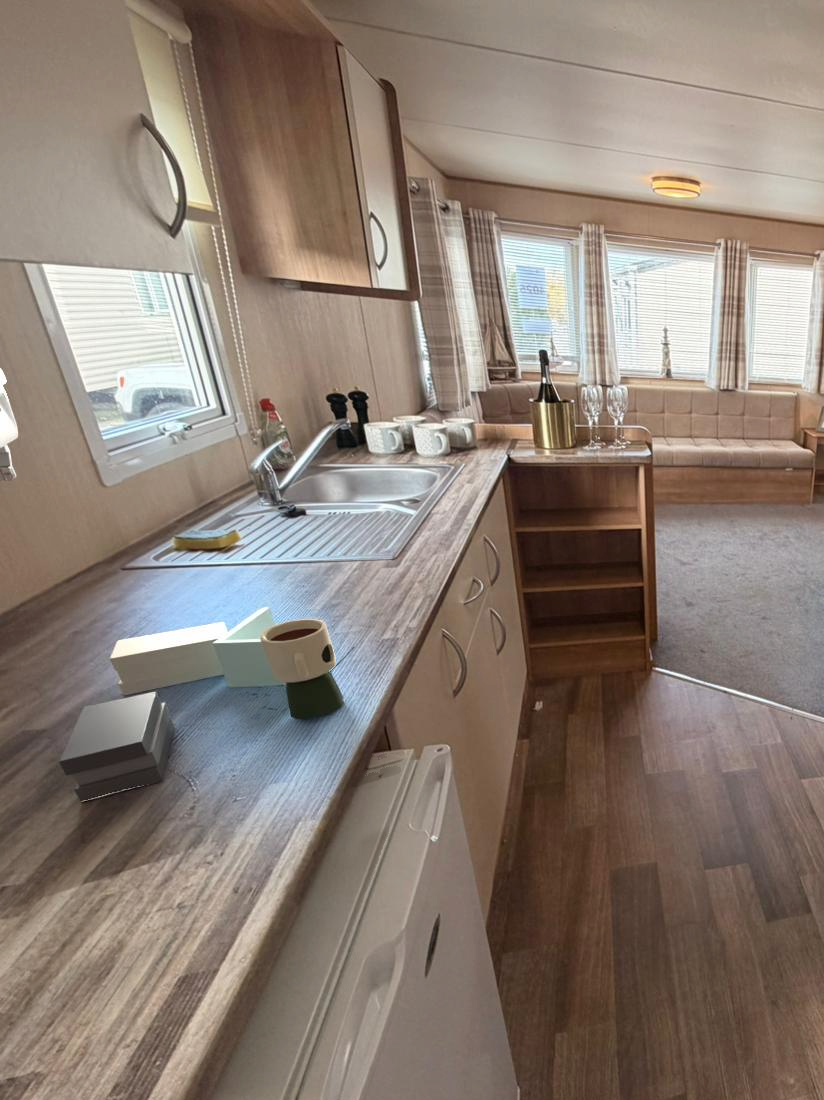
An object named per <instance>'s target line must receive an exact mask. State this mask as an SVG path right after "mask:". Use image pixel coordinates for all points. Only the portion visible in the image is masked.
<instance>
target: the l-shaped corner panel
mask: <svg viewBox="0 0 824 1100" xmlns="http://www.w3.org/2000/svg"><path fill="white" fill-rule="evenodd" d="M275 625H276V622H275V620H274V617H273V614H272V610H271V608H270V606H269V607H267V606H266V607H261V608H259V609H258V610H257V611H255V612H254V613H252V614H251V615H250V616H248V617H246V618H245V619H244V620H242V621H241V622H239V624H237V625H236V626H234V627H233V628H231V629H230V630H229V631H228V632H227V633H226V634H225V635H223V636H222V637H220V638H219V639H218V640H216V641H215V642H213V643H212V644H213V646H214V649H215V651H216V654H217V657H218V659H219V662H220V665H221V667H222V670H223V673H224V674H223V675H224V678H225V680H226V683H227V687H228V688H229V689H230V688H231V689H232V688H254V687H257V688H258V687H280V686H281V685H283V686H286V682H281V681H277V680H276V679H275V678H274V676H273V674H272V672H271V669H270V666H269V663H268V660H267V657H266V654H265V651H264V648H263V645H262V642H261V639H260V636H261V634H262V633H263V632H264V631H265V630H267V629H269V628H270V627H273V626H275ZM278 685H279V686H278ZM281 687H282V686H281Z"/></svg>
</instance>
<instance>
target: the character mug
mask: <svg viewBox="0 0 824 1100" xmlns="http://www.w3.org/2000/svg"><path fill="white" fill-rule="evenodd" d="M260 639H261V642H262V645H263V648H264V651H265V654H266V657H267V660H268V663H269V666H270V669H271V672H272V674H273V676H274V678H275V679H276V680H277V681H281V682H286V685H285V690H286V698H287V705H288V711H289V715H290V717H291V718H292V719H294V720H309V719H316V718H321V717H327V716H330V715H333V714H334V713H336V712H338V711H339V710H341V709H342V708H343V706H344V705H345V702H344V696H343V694H342V692H341V689H340V687H339V684H338V683H337V681H336V680H335V678H334V676H333V673H332V672H329V670H331V669H332V668H334V666H335V665H336V657H335V653H334V649H333V647H334V646H333V643H332V640H331V636H330V633H329V630H328V627H327V624H326V622H325V621H323V620H320V619H316V618H302V619H294V620H293V619H292V620H289V621H285V622H281V623H278V624H275V626H273V627H270V628H269V629H267V630H265V631H264V632H263V633H262V634H261V636H260ZM334 669H335V668H334Z"/></svg>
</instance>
